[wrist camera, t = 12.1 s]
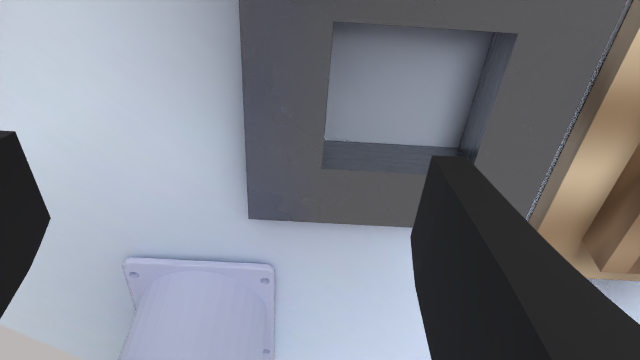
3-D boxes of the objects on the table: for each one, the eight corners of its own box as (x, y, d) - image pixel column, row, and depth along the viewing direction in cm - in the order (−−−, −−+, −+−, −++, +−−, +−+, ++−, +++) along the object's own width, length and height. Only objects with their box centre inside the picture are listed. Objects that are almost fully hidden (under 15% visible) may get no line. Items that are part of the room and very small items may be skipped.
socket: (505, 203, 23) (518, 232, 21) (254, 189, 22) (248, 218, 21) (622, -77, 15) (655, -62, 14) (244, -105, 15) (235, -92, 13)
